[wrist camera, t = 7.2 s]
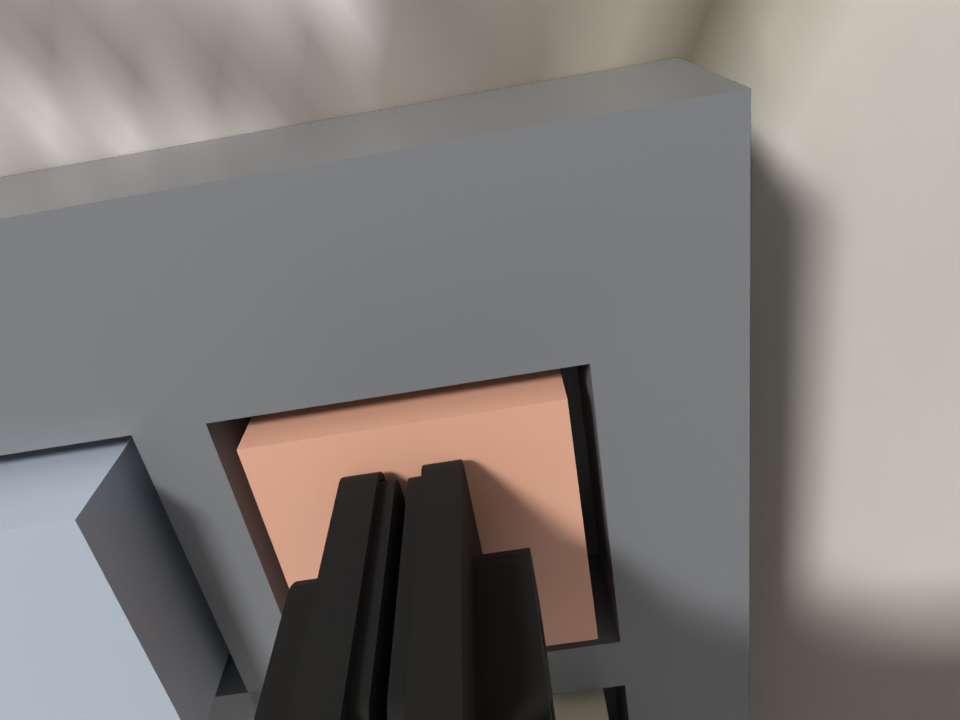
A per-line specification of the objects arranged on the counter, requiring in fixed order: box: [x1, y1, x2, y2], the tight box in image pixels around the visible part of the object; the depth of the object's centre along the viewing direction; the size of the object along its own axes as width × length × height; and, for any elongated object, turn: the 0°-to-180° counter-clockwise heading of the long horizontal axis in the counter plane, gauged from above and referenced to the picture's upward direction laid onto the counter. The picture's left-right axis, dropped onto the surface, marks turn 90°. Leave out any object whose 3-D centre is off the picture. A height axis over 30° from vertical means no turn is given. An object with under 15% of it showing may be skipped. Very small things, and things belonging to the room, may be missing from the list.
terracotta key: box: [237, 369, 598, 646], centre depth 12 cm, size 4×4×2 cm
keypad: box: [0, 58, 751, 720], centre depth 14 cm, size 17×15×3 cm
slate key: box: [0, 435, 230, 720], centre depth 11 cm, size 4×4×2 cm
